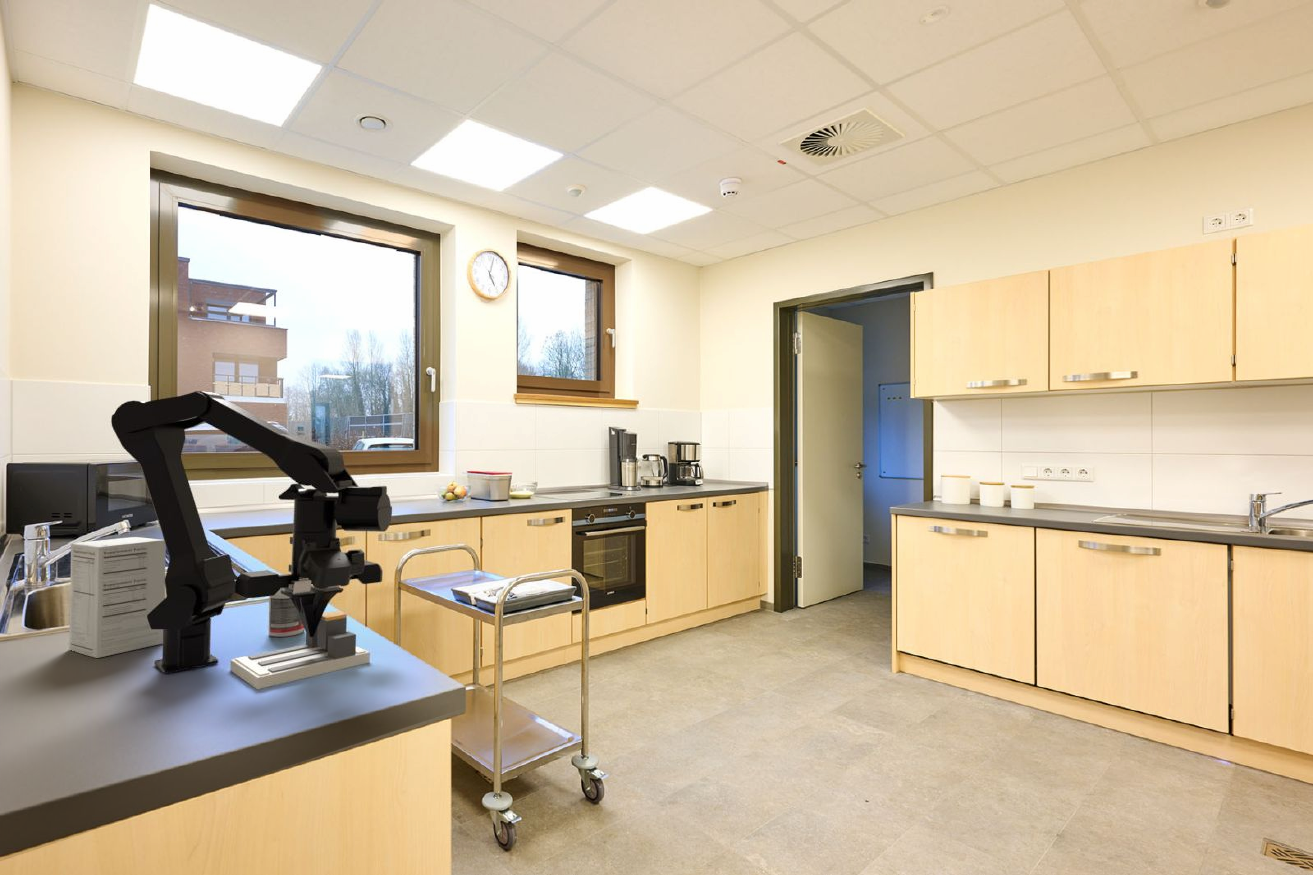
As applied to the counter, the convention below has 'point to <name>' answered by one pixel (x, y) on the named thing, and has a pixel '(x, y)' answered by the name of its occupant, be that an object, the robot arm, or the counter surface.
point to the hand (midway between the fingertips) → (310, 636)
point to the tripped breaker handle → (330, 627)
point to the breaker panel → (300, 661)
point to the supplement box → (115, 594)
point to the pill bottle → (283, 616)
